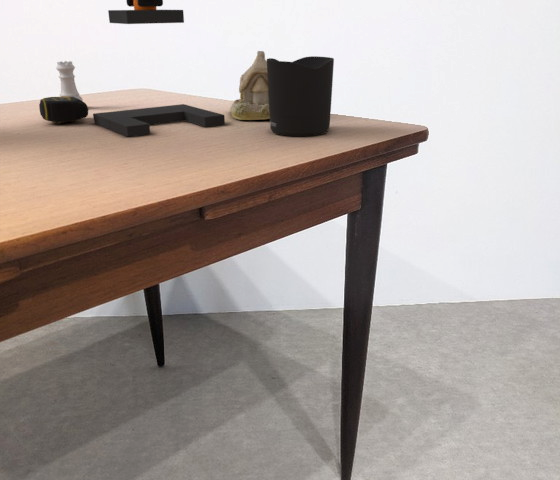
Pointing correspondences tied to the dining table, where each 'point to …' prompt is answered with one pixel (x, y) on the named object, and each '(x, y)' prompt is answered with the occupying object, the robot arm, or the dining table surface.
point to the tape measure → (62, 109)
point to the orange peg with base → (145, 15)
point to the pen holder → (300, 95)
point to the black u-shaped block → (155, 118)
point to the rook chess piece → (67, 80)
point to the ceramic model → (253, 92)
